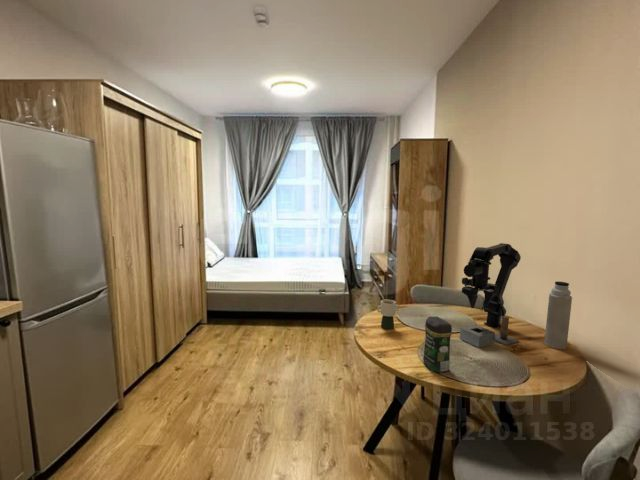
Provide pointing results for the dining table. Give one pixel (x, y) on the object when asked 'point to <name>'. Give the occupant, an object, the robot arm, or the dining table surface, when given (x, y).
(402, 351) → the dining table surface
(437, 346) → the coffee jar
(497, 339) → the pad
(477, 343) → the plate
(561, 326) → the thermos bottle
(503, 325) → the brown cylinder rod
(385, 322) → the character mug
